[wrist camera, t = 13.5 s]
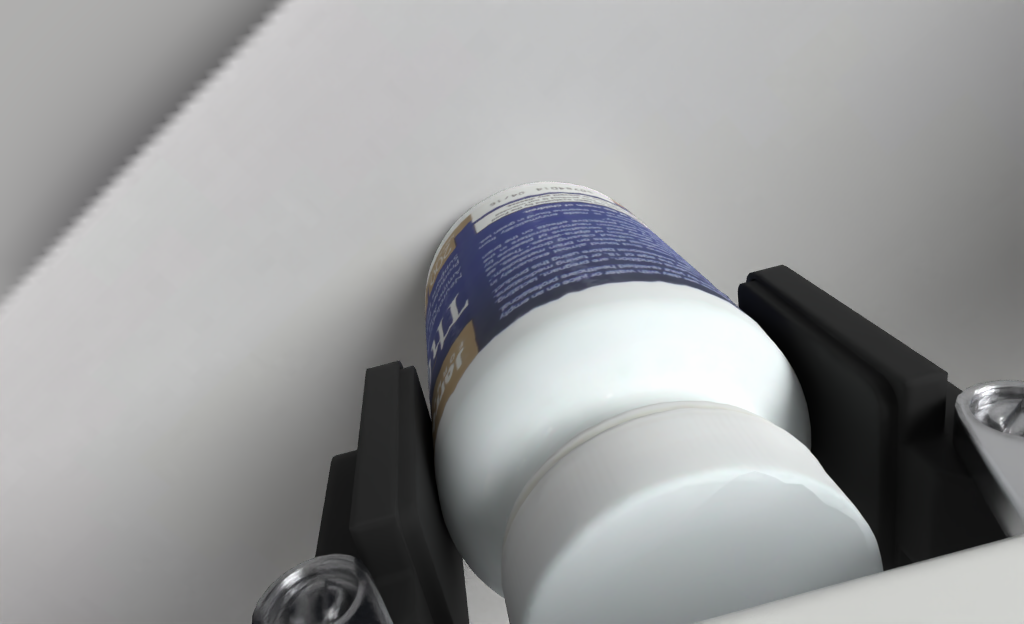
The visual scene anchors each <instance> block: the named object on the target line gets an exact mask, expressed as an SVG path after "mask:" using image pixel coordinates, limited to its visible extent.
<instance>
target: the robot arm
mask: <svg viewBox="0 0 1024 624" xmlns="http://www.w3.org/2000/svg"><path fill="white" fill-rule="evenodd" d="M738 302H739V308H740V309H741V310H742V311H743V312H744V313H746V314H747V315H748V316H749V317H751V318H752V319H753V320H754V321H756V322H757V324H758V325H759V326H760V327H761V328H762V329H763V331H764V332H765V333H766V334H767V335H768V337H769V338H770V339H771V340H772V341H773V342H774V343H775V344H776V345H777V347H778V348H779V349H780V350H781V352H782V353H783V354H784V356H785V357H786V359H787V360H788V362H789V363H790V365H791V367H792V368H793V370H794V372H795V374H796V376H797V378H798V380H799V382H800V385H801V387H802V390H803V393H804V396H805V399H806V402H807V407H808V412H809V418H810V426H811V453H812V454H813V455H814V456H815V458H816V459H817V460H818V461H819V463H820V464H821V466H822V467H823V469H824V471H825V472H826V473H827V474H828V476H829V477H830V478H831V479H832V480H833V481H834V482H835V483H836V485H837V486H838V487H839V488H840V489H841V490H842V492H843V493H844V494H845V495H846V496H847V497H848V499H849V500H850V501H851V502H852V503H853V504H854V506H855V507H856V508H857V509H858V511H859V512H860V514H861V515H862V516H863V518H864V519H865V521H866V522H867V523H868V525H869V527H870V528H871V530H872V532H873V534H874V536H875V538H876V541H877V544H878V547H879V551H880V555H881V560H882V565H883V572H879V573H875V574H872V575H868V576H864V577H861V578H857V579H853V580H850V581H846V582H842V583H839V584H835V585H831V586H828V587H824V588H820V589H817V590H813V591H809V592H806V593H802V594H798V595H794V596H791V597H787V598H783V599H780V600H776V601H773V602H769V603H765V604H762V605H758V606H754V607H751V608H747V609H743V610H740V611H736V612H732V613H729V614H725V615H721V616H718V617H714V618H710V619H707V620H703V621H700V622H696V623H692V624H1024V381H1019V380H998V381H991V382H985V383H980V384H977V385H974V386H972V387H969V388H967V389H965V390H964V391H962V390H960V389H959V388H957V387H956V386H954V385H953V384H951V383H950V382H948V381H947V377H948V373H947V372H946V371H944V370H943V369H941V368H940V367H938V366H937V365H935V364H934V363H932V362H931V361H929V360H928V359H926V358H925V357H923V356H922V355H920V354H919V353H917V352H915V351H914V350H912V349H911V348H909V347H908V346H906V345H905V344H903V343H902V342H900V341H899V340H897V339H896V338H894V337H893V336H891V335H890V334H888V333H887V332H885V331H884V330H882V329H881V328H879V327H878V326H876V325H875V324H873V323H872V322H870V321H868V320H867V319H865V318H864V317H862V316H861V315H859V314H858V313H856V312H855V311H853V310H852V309H850V308H849V307H847V306H846V305H844V304H843V303H841V302H840V301H838V300H837V299H835V298H834V297H832V296H831V295H829V294H828V293H826V292H825V291H823V290H821V289H820V288H818V287H817V286H815V285H814V284H812V283H811V282H809V281H808V280H806V279H805V278H803V277H802V276H800V275H799V274H797V273H796V272H794V271H793V270H791V269H790V268H788V267H787V266H784V265H780V266H776V267H772V268H768V269H764V270H760V271H756V272H752V273H749V275H748V276H747V280H746V283H742V284H740V285H739V287H738ZM252 624H469V616H468V607H467V597H466V588H465V578H464V569H463V559H462V556H461V554H460V553H459V551H458V550H457V548H456V546H455V544H454V542H453V540H452V538H451V536H450V534H449V532H448V529H447V527H446V524H445V522H444V518H443V515H442V511H441V507H440V502H439V496H438V490H437V486H436V481H435V471H434V450H433V438H432V421H431V418H430V415H429V411H428V408H427V405H426V401H425V398H424V395H423V391H422V388H421V385H420V381H419V378H418V375H417V372H416V369H415V367H414V366H411V367H407V368H403V366H402V364H401V362H400V361H396V362H392V363H388V364H384V365H380V366H376V367H372V368H368V369H367V370H366V377H365V386H364V395H363V404H362V413H361V422H360V431H359V440H358V449H357V450H355V451H352V452H348V453H344V454H340V455H336V456H334V457H333V458H332V461H331V466H330V472H329V478H328V484H327V490H326V496H325V502H324V508H323V514H322V520H321V526H320V532H319V538H318V544H317V550H316V556H315V558H313V559H311V560H308V561H305V562H303V563H300V564H299V565H297V566H295V567H294V568H292V569H290V570H289V571H287V572H285V573H284V574H283V575H282V576H280V577H279V578H278V579H277V580H276V581H275V582H274V583H272V584H271V585H270V586H269V587H268V589H267V590H266V591H265V593H264V594H263V595H262V597H261V598H260V599H259V601H258V603H257V606H256V608H255V610H254V613H253V615H252Z"/></svg>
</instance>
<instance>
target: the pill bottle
mask: <svg viewBox="0 0 1024 624" xmlns="http://www.w3.org/2000/svg"><path fill="white" fill-rule="evenodd" d="M425 320H426V341H427V359H428V383H429V399H430V408H431V419H432V438H433V450H434V471H435V481H436V486H437V490H438V496H439V502H440V507H441V511H442V515H443V518H444V522H445V524H446V527H447V529H448V532H449V534H450V536H451V538H452V540H453V542H454V544H455V546H456V548H457V550H458V551H459V553H460V554H461V556H462V557H463V559H464V560H465V562H466V563H467V564H468V565H469V567H470V568H471V569H472V571H473V572H474V573H475V574H476V575H477V576H478V577H479V578H480V579H481V580H482V581H483V582H484V583H485V584H486V585H488V586H489V587H490V588H491V589H492V590H493V591H495V592H496V593H497V594H499V595H500V596H502V597H503V598H505V603H506V607H507V612H508V617H509V622H510V624H692V623H696V622H700V621H703V620H707V619H710V618H714V617H718V616H721V615H725V614H729V613H732V612H736V611H740V610H743V609H747V608H751V607H754V606H758V605H762V604H765V603H769V602H773V601H776V600H780V599H783V598H787V597H791V596H794V595H798V594H802V593H806V592H809V591H813V590H817V589H820V588H824V587H828V586H831V585H835V584H839V583H842V582H846V581H850V580H853V579H857V578H861V577H864V576H868V575H872V574H875V573H879V572H883V565H882V560H881V555H880V551H879V547H878V544H877V541H876V538H875V536H874V534H873V532H872V530H871V528H870V527H869V525H868V523H867V522H866V521H865V519H864V518H863V516H862V515H861V514H860V512H859V511H858V509H857V508H856V507H855V506H854V504H853V503H852V502H851V501H850V500H849V499H848V497H847V496H846V495H845V494H844V493H843V492H842V490H841V489H840V488H839V487H838V486H837V485H836V483H835V482H834V481H833V480H832V479H831V478H830V477H829V476H828V474H827V473H826V472H825V471H824V469H823V467H822V466H821V464H820V463H819V461H818V460H817V459H816V458H815V456H814V455H813V454H812V453H811V426H810V418H809V412H808V407H807V402H806V399H805V396H804V393H803V390H802V387H801V385H800V382H799V380H798V378H797V376H796V374H795V372H794V370H793V368H792V367H791V365H790V363H789V362H788V360H787V359H786V357H785V356H784V354H783V353H782V352H781V350H780V349H779V348H778V347H777V345H776V344H775V343H774V342H773V341H772V340H771V339H770V338H769V337H768V335H767V334H766V333H765V332H764V331H763V329H762V328H761V327H760V326H759V325H758V324H757V322H756V321H754V320H753V319H752V318H751V317H749V316H748V315H747V314H746V313H744V312H743V311H742V310H741V309H740V308H739V307H738V306H736V305H735V304H734V303H733V302H732V301H731V300H730V299H729V298H728V296H726V295H725V294H723V293H722V292H720V291H719V290H718V289H717V288H715V287H714V286H713V285H712V284H711V283H710V282H709V281H708V280H707V279H706V278H705V277H704V276H702V275H701V274H700V273H699V272H698V271H697V270H696V269H694V268H693V267H692V266H691V265H690V264H689V263H688V262H686V261H685V260H684V259H683V258H682V257H681V256H680V255H678V254H677V253H676V252H675V251H674V250H673V249H671V248H670V247H669V246H668V245H667V244H666V243H664V242H663V241H662V240H661V239H660V238H659V237H658V236H657V235H656V234H654V233H653V232H652V231H651V230H650V229H649V228H648V227H647V226H646V225H645V224H644V223H643V222H642V221H641V220H639V219H638V218H637V217H636V216H634V215H633V214H632V213H631V212H630V211H628V210H627V209H626V208H624V207H623V206H621V205H620V204H618V203H617V202H615V201H614V200H612V199H611V198H609V197H607V196H606V195H604V194H602V193H600V192H598V191H595V190H593V189H590V188H587V187H585V186H581V185H576V184H571V183H564V182H534V183H527V184H522V185H518V186H515V187H511V188H508V189H505V190H503V191H500V192H498V193H496V194H494V195H492V196H490V197H489V198H487V199H485V200H483V201H482V202H480V203H478V204H477V205H475V206H474V207H472V208H471V209H470V210H468V211H467V212H466V213H465V214H464V215H463V216H462V217H461V218H459V219H458V220H457V221H456V222H455V223H454V225H453V226H452V227H451V229H450V230H449V231H448V233H447V234H446V236H445V237H444V239H443V241H442V242H441V244H440V246H439V247H438V249H437V251H436V254H435V256H434V259H433V261H432V263H431V266H430V270H429V273H428V278H427V284H426V292H425Z"/></svg>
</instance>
